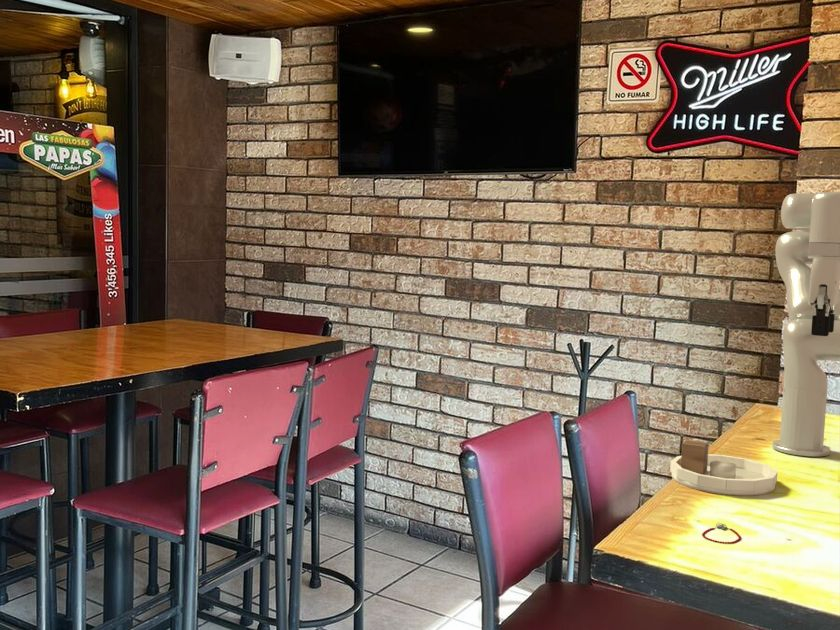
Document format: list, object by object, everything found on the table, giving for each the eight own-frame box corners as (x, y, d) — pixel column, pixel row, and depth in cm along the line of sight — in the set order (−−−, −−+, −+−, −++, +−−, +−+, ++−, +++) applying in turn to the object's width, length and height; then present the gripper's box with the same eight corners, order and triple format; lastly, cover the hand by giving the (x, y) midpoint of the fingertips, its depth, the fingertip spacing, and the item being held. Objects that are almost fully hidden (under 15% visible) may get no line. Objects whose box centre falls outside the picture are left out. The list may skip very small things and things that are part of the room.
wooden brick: (685, 467, 178) (687, 439, 178) (707, 470, 176) (708, 442, 176) (680, 471, 175) (682, 443, 174) (702, 475, 172) (704, 446, 172)
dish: (685, 462, 186) (685, 447, 186) (782, 478, 176) (783, 461, 175) (660, 483, 169) (661, 466, 169) (765, 502, 159) (767, 483, 158)
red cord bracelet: (708, 525, 145) (709, 520, 145) (745, 532, 142) (746, 526, 142) (698, 540, 137) (698, 534, 137) (737, 548, 135) (737, 542, 134)
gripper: (813, 251, 184) (808, 329, 186) (803, 251, 169) (797, 335, 171) (851, 252, 180) (846, 332, 182) (844, 252, 166) (838, 338, 167)
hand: (822, 333), depth 176 cm, fingers open, 9 cm apart
